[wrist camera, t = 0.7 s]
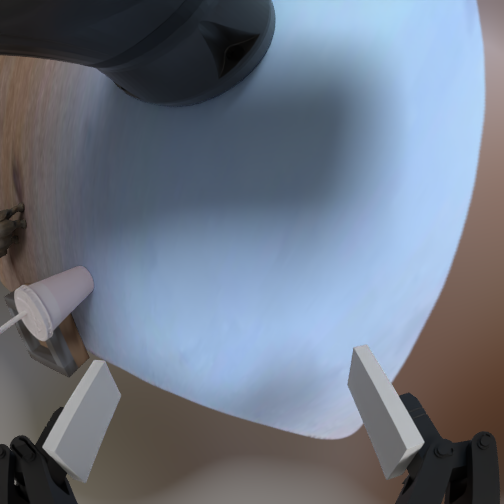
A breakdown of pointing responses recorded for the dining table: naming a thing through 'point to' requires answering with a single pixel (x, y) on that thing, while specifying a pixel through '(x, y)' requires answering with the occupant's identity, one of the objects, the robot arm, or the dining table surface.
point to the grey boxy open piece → (53, 343)
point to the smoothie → (50, 301)
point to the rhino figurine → (9, 228)
